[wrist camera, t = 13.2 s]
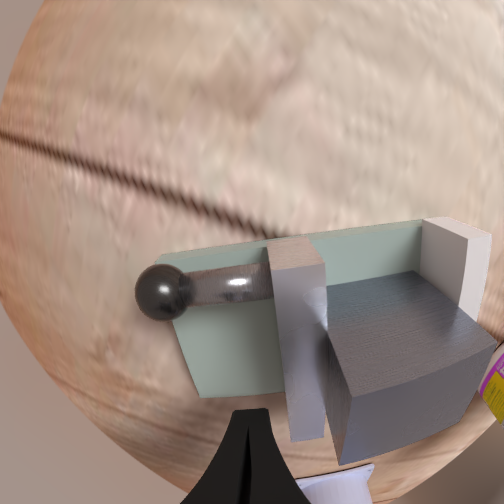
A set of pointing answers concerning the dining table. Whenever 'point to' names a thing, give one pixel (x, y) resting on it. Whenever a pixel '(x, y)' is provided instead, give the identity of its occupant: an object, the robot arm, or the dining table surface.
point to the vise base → (337, 271)
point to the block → (398, 363)
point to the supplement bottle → (494, 385)
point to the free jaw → (287, 313)
